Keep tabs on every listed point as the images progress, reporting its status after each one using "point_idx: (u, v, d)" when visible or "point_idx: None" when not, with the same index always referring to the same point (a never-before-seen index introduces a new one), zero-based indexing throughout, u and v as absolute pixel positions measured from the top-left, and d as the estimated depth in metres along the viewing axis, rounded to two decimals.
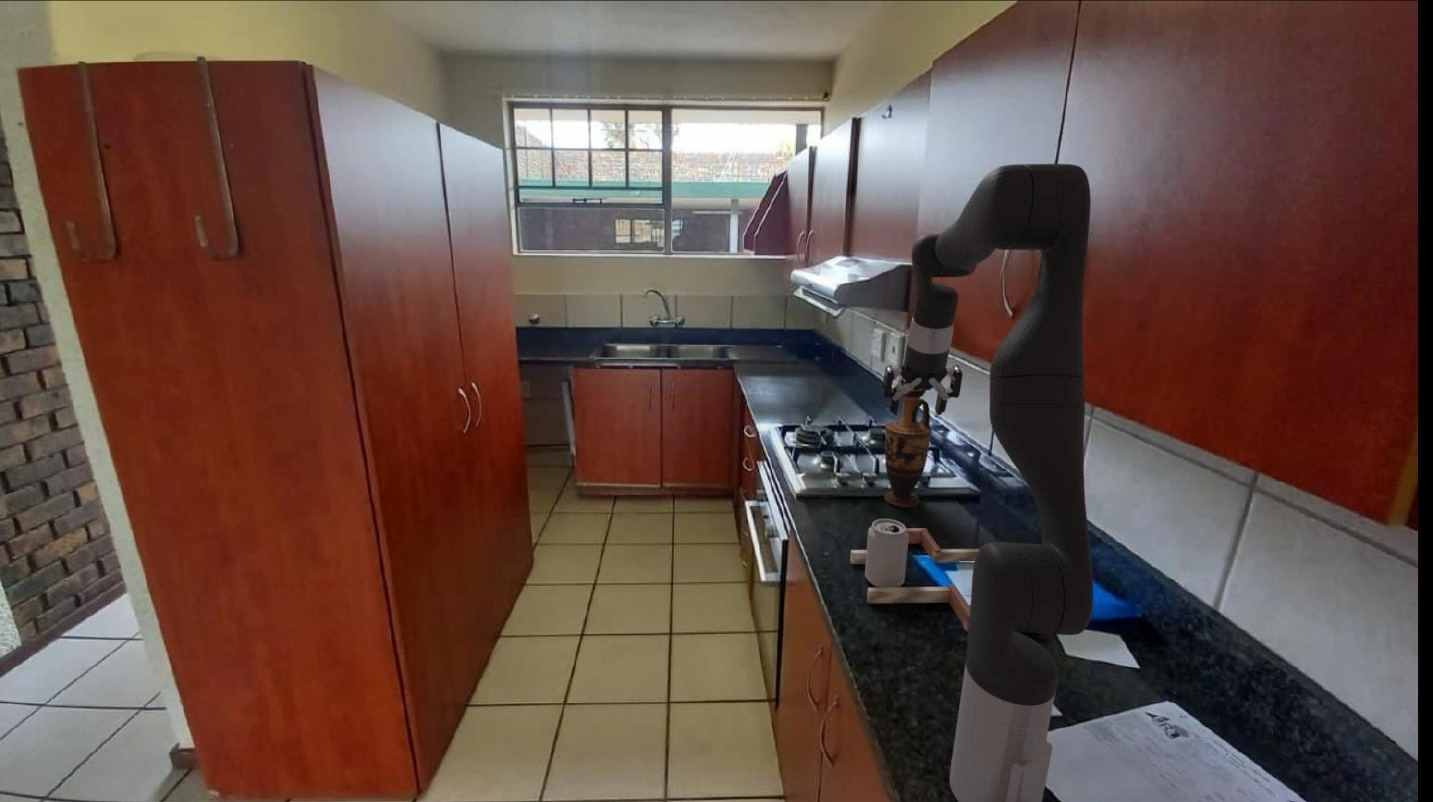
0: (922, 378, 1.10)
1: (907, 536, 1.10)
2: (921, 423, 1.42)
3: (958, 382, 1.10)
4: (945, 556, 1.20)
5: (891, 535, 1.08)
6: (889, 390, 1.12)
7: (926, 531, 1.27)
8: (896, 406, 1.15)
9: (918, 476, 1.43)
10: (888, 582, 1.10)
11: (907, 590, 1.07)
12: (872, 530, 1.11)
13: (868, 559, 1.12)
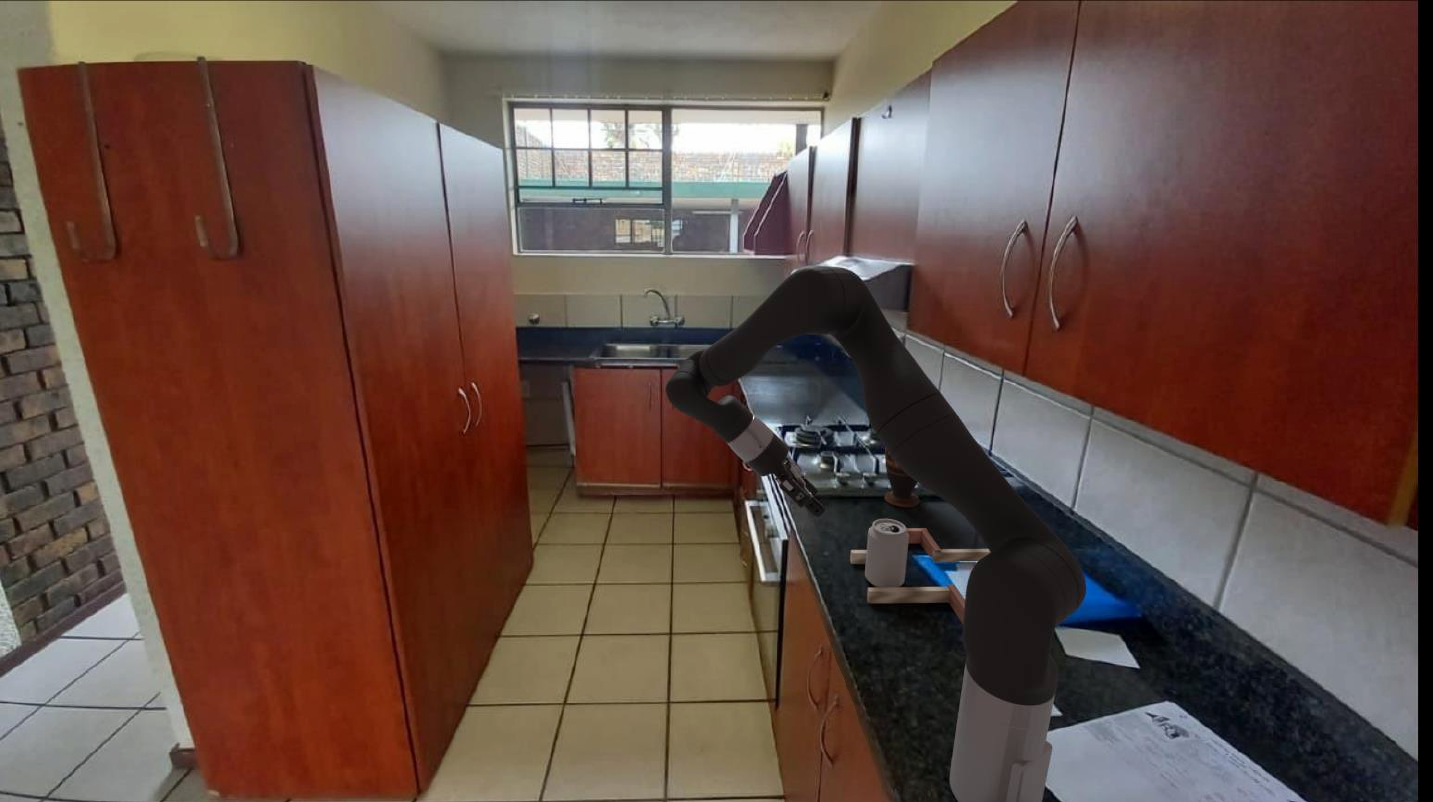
0: None
1: (907, 536, 1.10)
2: None
3: (788, 458, 1.14)
4: (945, 556, 1.20)
5: (892, 535, 1.08)
6: (804, 491, 1.03)
7: (926, 531, 1.27)
8: (817, 501, 1.05)
9: None
10: (888, 582, 1.10)
11: (907, 590, 1.07)
12: (872, 530, 1.11)
13: (868, 559, 1.12)
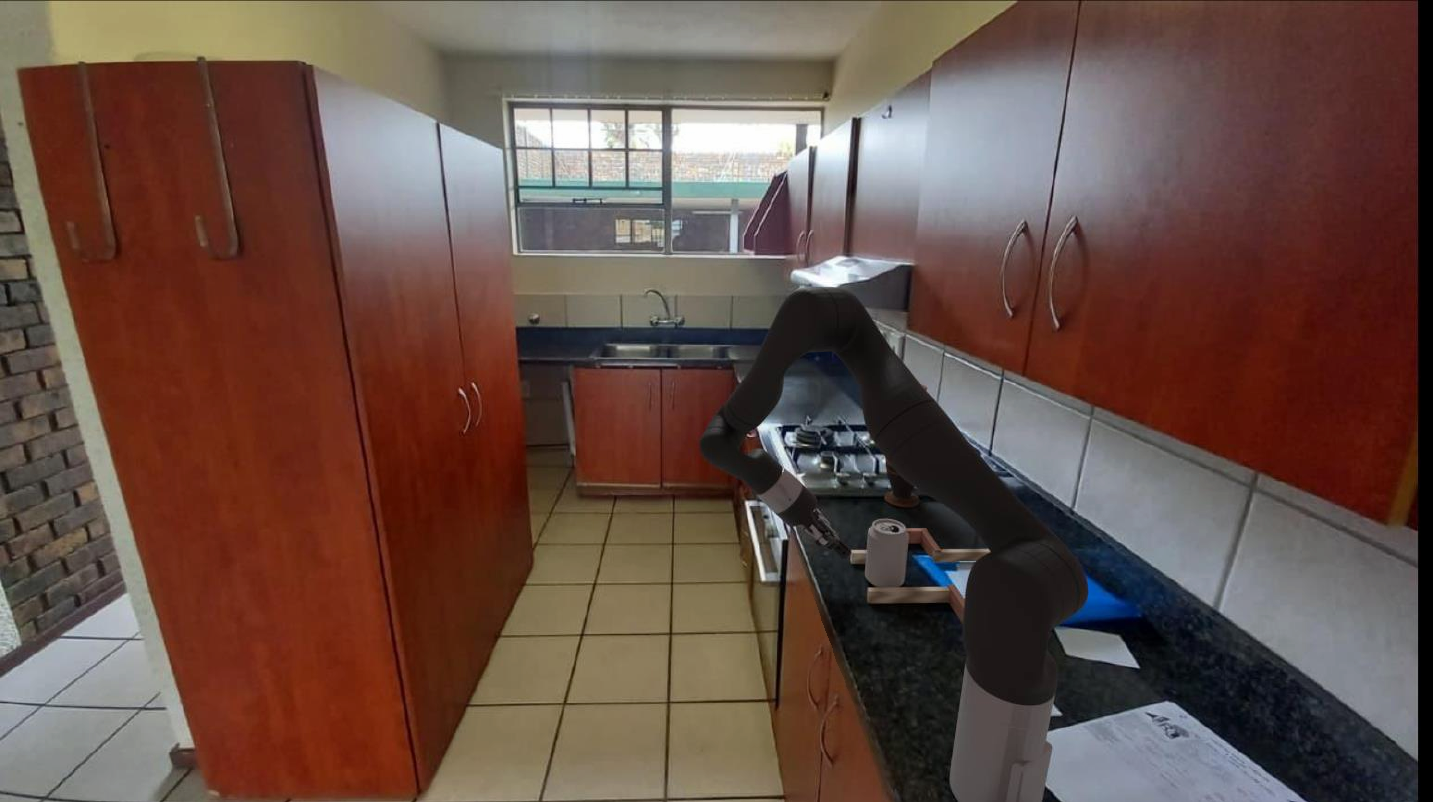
0: None
1: (907, 536, 1.10)
2: None
3: (821, 514, 1.15)
4: (945, 556, 1.20)
5: (891, 535, 1.08)
6: (833, 537, 1.08)
7: (926, 531, 1.27)
8: (844, 543, 1.12)
9: None
10: (888, 582, 1.10)
11: (907, 590, 1.07)
12: (872, 530, 1.11)
13: (868, 559, 1.12)
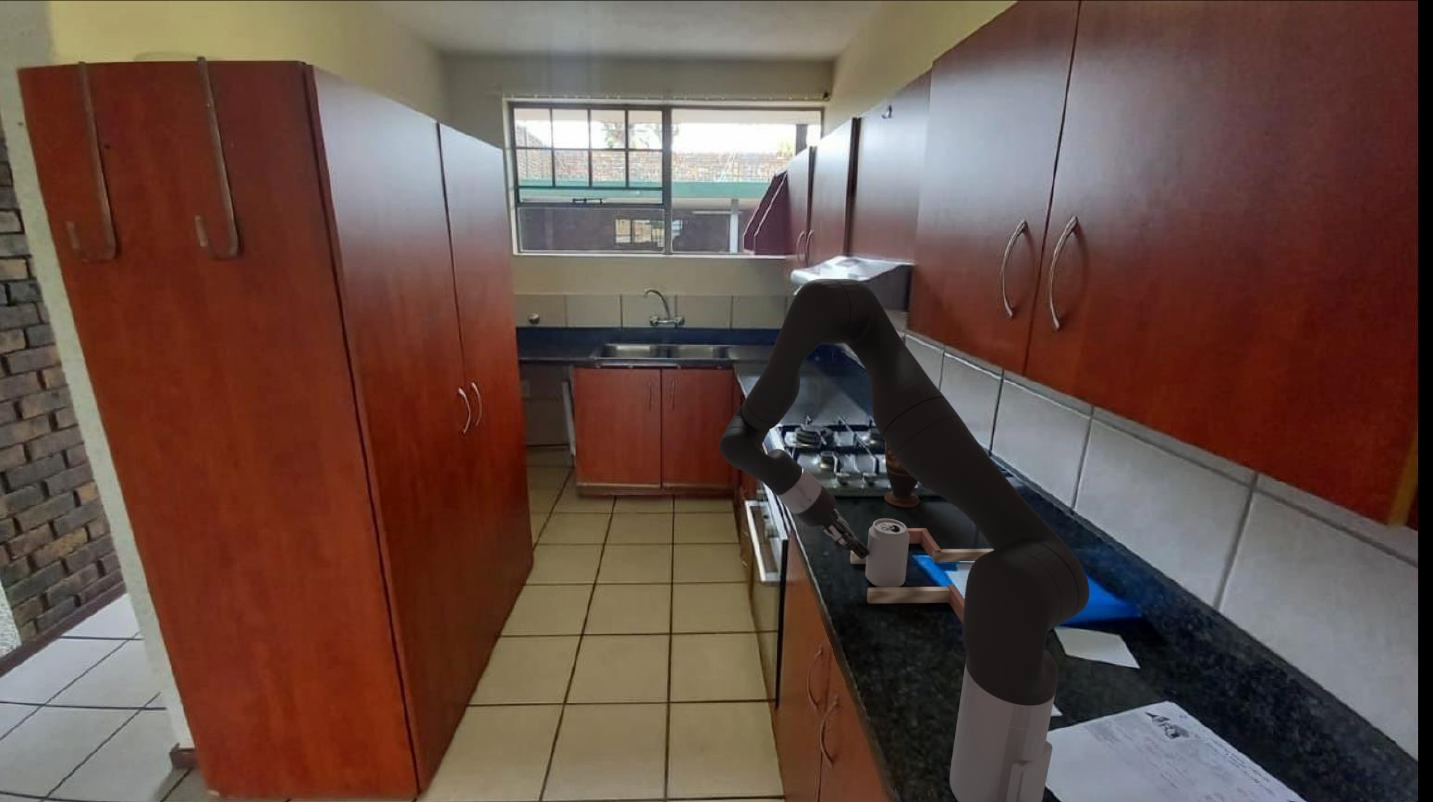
0: None
1: (908, 536, 1.10)
2: None
3: None
4: (945, 556, 1.20)
5: (892, 535, 1.08)
6: (852, 538, 1.08)
7: (926, 531, 1.27)
8: (862, 544, 1.12)
9: None
10: (888, 581, 1.10)
11: (907, 590, 1.07)
12: (873, 530, 1.11)
13: (869, 559, 1.12)
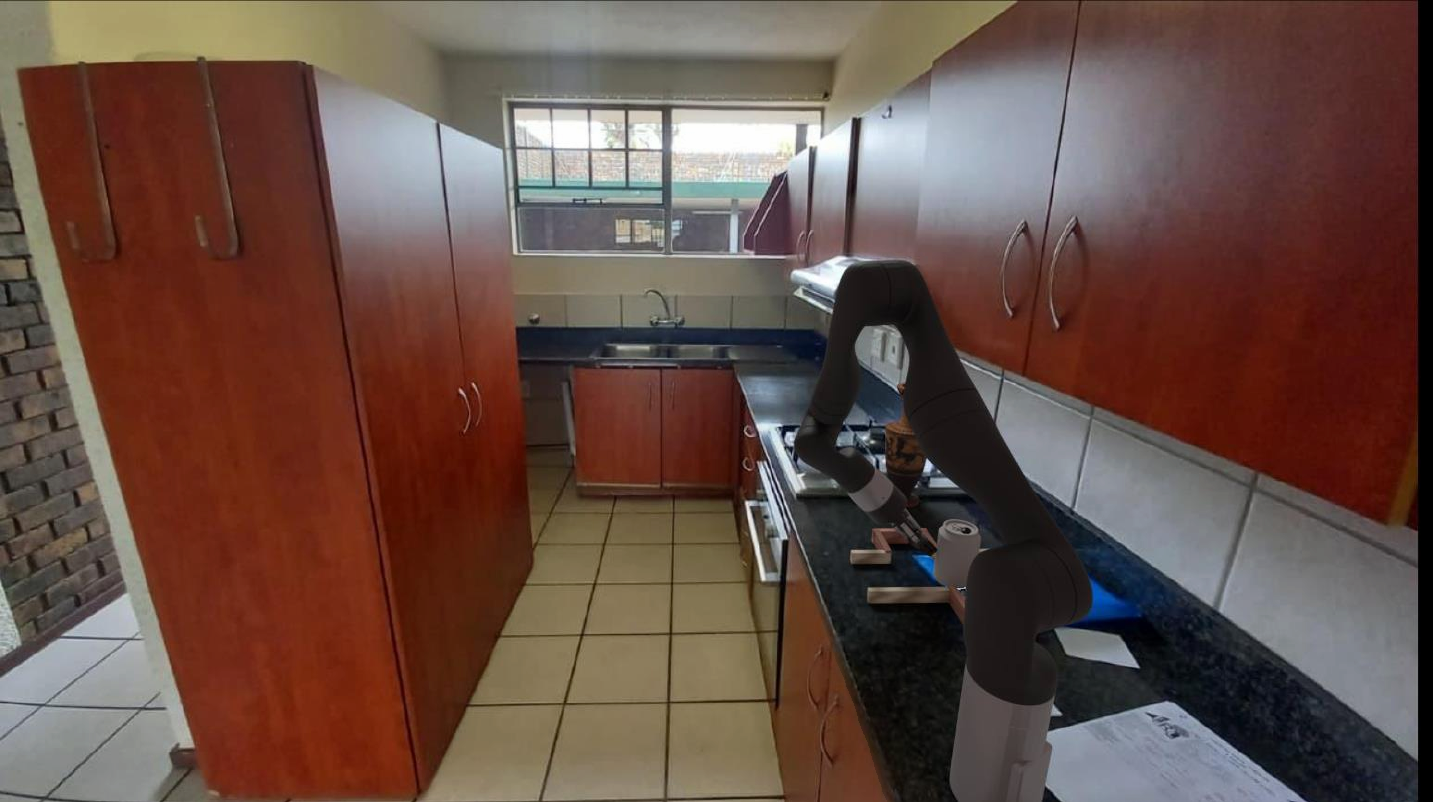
0: None
1: (978, 540, 1.09)
2: None
3: None
4: None
5: (959, 535, 1.08)
6: (923, 535, 1.09)
7: (926, 531, 1.27)
8: (930, 541, 1.12)
9: (918, 476, 1.43)
10: (952, 581, 1.10)
11: (907, 590, 1.07)
12: (942, 528, 1.12)
13: (936, 556, 1.13)
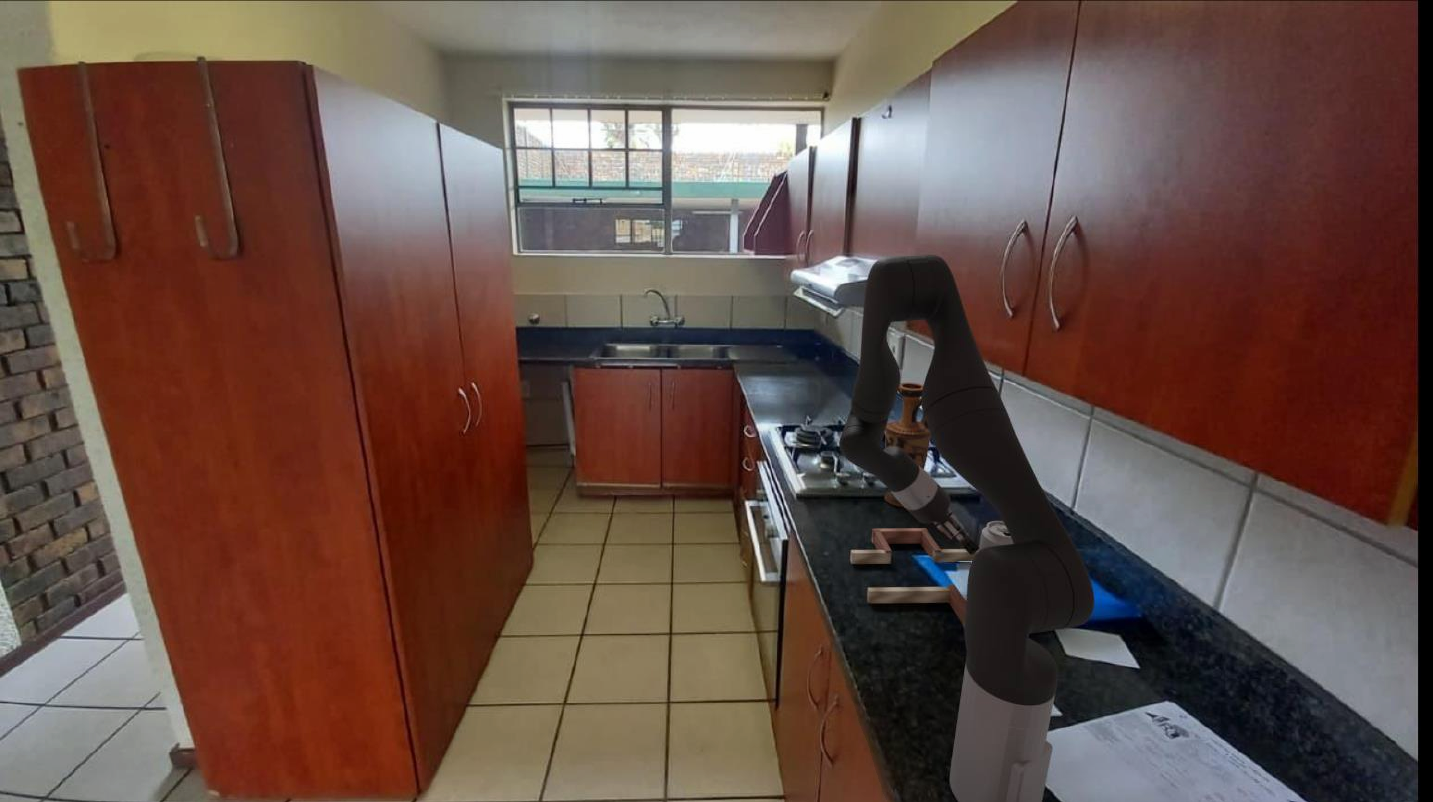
0: None
1: None
2: (921, 423, 1.42)
3: None
4: (945, 556, 1.20)
5: (998, 535, 1.08)
6: None
7: (926, 531, 1.27)
8: (972, 540, 1.13)
9: None
10: None
11: (907, 590, 1.07)
12: (986, 527, 1.12)
13: None
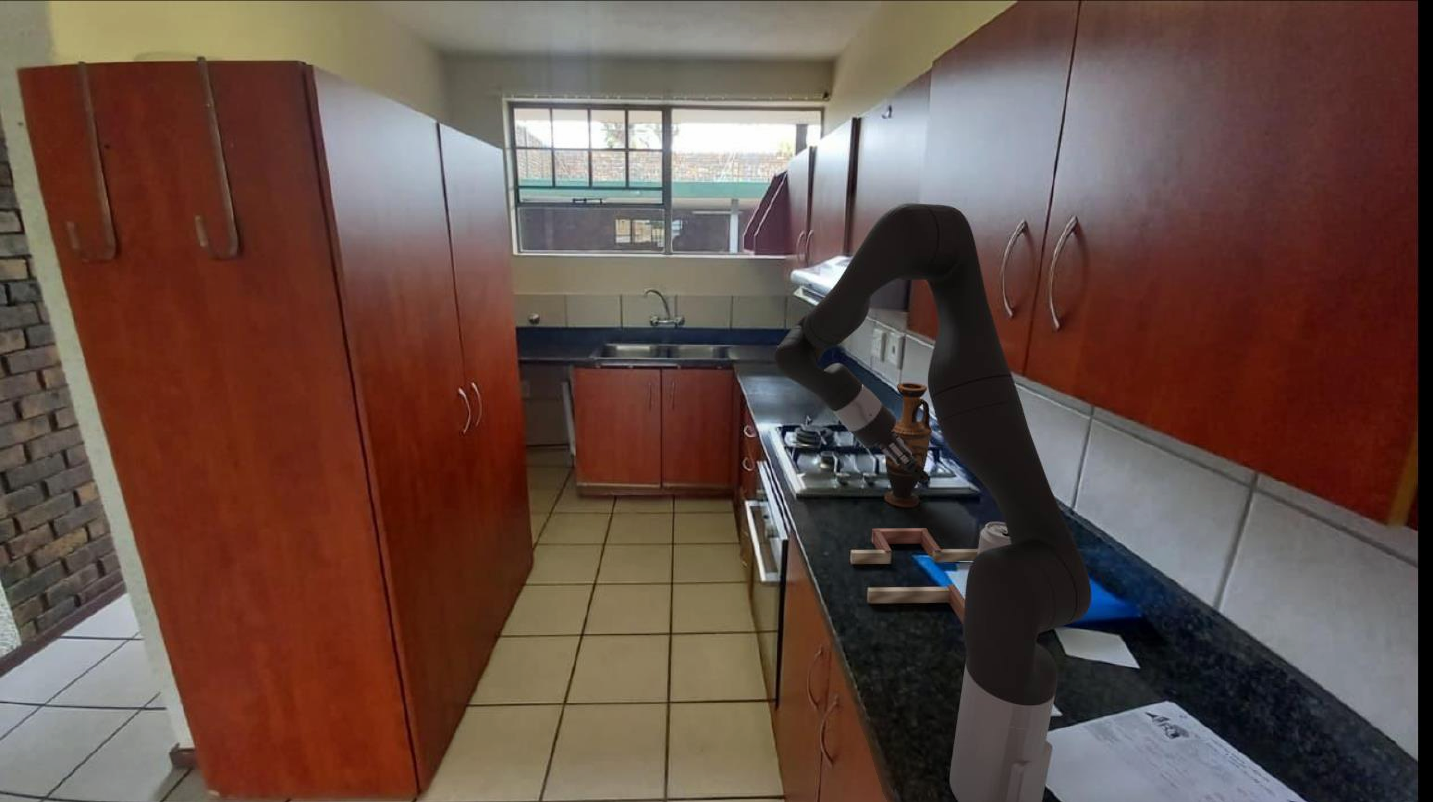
0: None
1: None
2: (921, 423, 1.42)
3: None
4: (945, 556, 1.20)
5: (997, 536, 1.08)
6: None
7: (926, 531, 1.27)
8: None
9: None
10: None
11: (907, 590, 1.07)
12: (984, 528, 1.12)
13: None
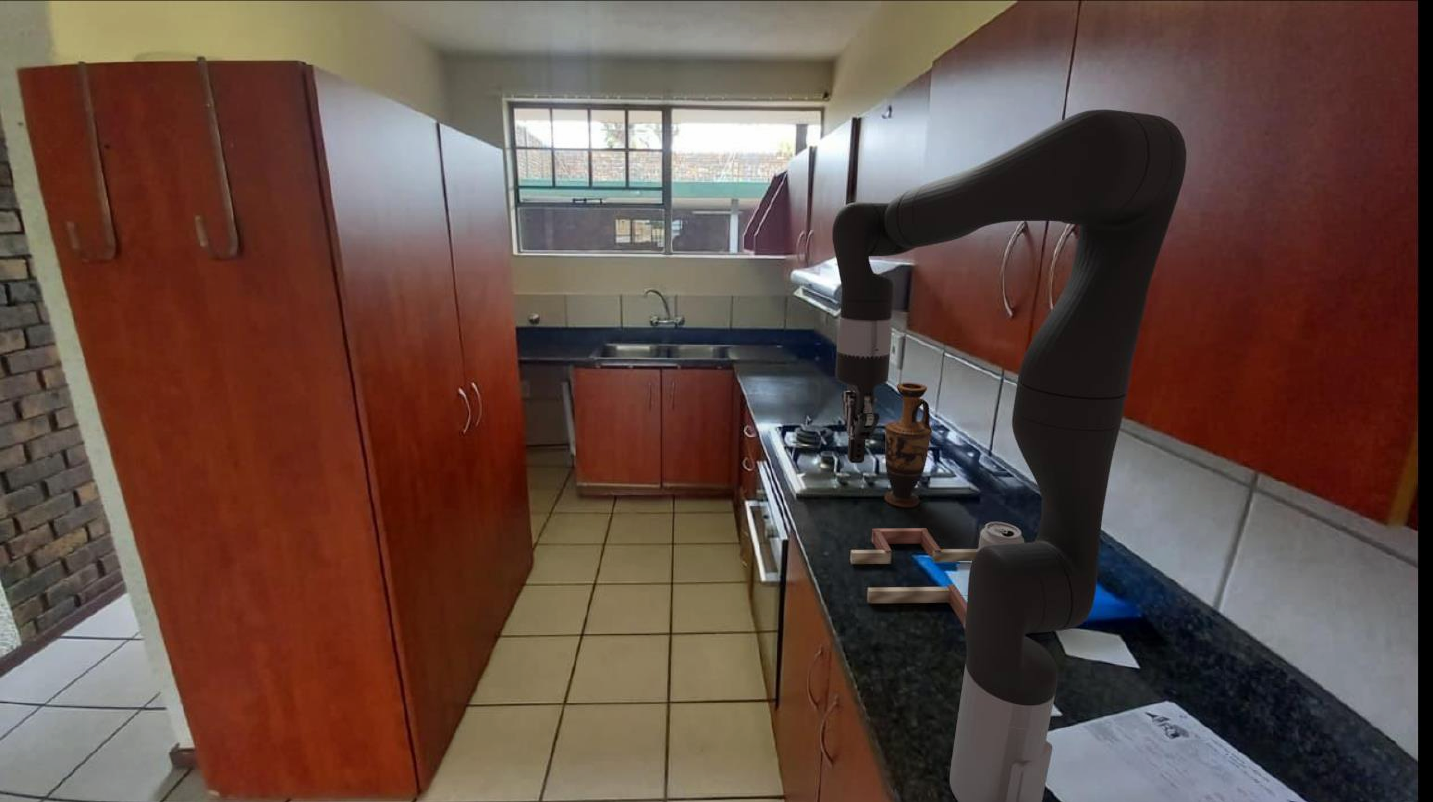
0: None
1: None
2: (921, 423, 1.42)
3: None
4: (945, 556, 1.20)
5: (997, 536, 1.08)
6: None
7: (926, 531, 1.27)
8: None
9: (918, 476, 1.43)
10: None
11: (907, 590, 1.07)
12: (984, 528, 1.12)
13: None
